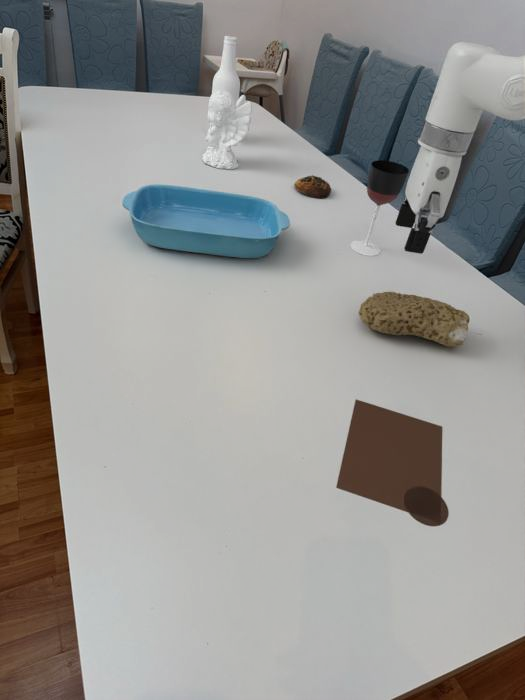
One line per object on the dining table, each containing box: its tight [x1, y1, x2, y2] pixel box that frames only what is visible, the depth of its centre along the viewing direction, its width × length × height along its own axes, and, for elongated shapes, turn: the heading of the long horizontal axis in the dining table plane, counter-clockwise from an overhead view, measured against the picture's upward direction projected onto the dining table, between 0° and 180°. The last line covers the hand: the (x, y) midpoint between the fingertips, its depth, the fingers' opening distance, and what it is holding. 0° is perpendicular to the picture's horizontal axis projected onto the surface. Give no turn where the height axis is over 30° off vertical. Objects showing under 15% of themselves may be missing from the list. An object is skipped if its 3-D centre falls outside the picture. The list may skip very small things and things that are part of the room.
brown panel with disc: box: [335, 398, 449, 527], centre depth 72 cm, size 19×15×1 cm
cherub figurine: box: [201, 91, 253, 170], centre depth 147 cm, size 13×12×20 cm
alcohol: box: [208, 35, 241, 129], centre depth 160 cm, size 9×9×30 cm
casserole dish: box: [122, 183, 291, 260], centre depth 112 cm, size 37×22×7 cm, turn 93°
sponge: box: [358, 291, 470, 348], centre depth 95 cm, size 13×8×20 cm
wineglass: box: [349, 159, 410, 257], centre depth 116 cm, size 8×9×20 cm
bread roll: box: [293, 174, 332, 199], centre depth 144 cm, size 11×11×5 cm
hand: (408, 238), depth 87 cm, fingers open, 9 cm apart
